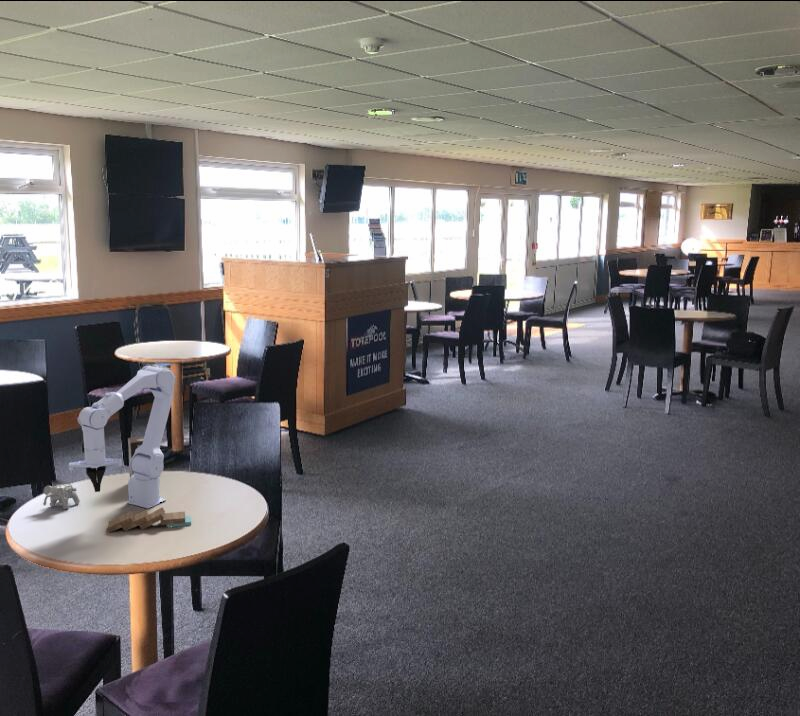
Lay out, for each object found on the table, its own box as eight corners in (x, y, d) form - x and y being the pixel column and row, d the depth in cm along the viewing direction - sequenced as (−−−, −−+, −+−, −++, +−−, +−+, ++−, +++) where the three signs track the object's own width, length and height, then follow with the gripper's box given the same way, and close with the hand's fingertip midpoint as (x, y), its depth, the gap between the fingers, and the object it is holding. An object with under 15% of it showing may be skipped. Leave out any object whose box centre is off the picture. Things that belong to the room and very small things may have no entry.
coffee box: (132, 488, 255) (130, 442, 252) (129, 482, 261) (127, 437, 258) (160, 484, 259) (158, 439, 256) (156, 478, 265) (154, 434, 262)
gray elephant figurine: (82, 502, 244) (81, 479, 243) (68, 515, 232) (66, 490, 231) (53, 502, 243) (52, 479, 242) (37, 515, 232) (35, 491, 231)
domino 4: (160, 520, 224) (185, 518, 226) (160, 513, 228) (184, 511, 230) (160, 525, 224) (185, 523, 226) (161, 518, 229) (185, 516, 231)
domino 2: (122, 527, 221) (145, 516, 222) (123, 520, 226) (145, 509, 227) (124, 531, 222) (147, 520, 223) (125, 524, 226) (148, 514, 228)
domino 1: (107, 528, 220) (130, 517, 221) (108, 521, 225) (131, 510, 226) (109, 532, 221) (132, 521, 222) (111, 525, 225) (133, 515, 227)
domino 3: (139, 525, 222) (160, 513, 223) (141, 518, 227) (162, 507, 228) (142, 529, 223) (163, 518, 224) (143, 522, 228) (165, 511, 228)
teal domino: (166, 524, 225) (191, 521, 227) (166, 517, 229) (190, 515, 231) (166, 529, 225) (191, 526, 227) (166, 522, 230) (190, 520, 232)
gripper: (66, 453, 218) (70, 498, 221) (120, 449, 222) (122, 493, 225) (69, 446, 224) (72, 489, 227) (121, 442, 229) (123, 484, 231)
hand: (97, 490), depth 226 cm, fingers closed
